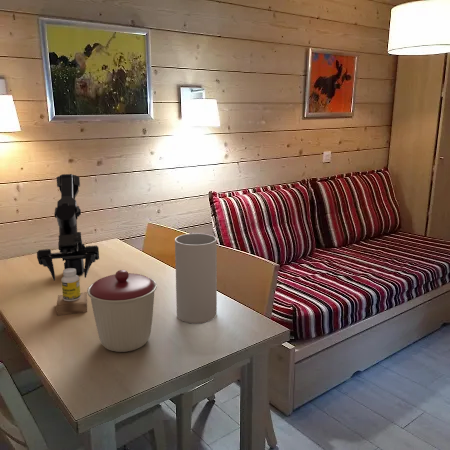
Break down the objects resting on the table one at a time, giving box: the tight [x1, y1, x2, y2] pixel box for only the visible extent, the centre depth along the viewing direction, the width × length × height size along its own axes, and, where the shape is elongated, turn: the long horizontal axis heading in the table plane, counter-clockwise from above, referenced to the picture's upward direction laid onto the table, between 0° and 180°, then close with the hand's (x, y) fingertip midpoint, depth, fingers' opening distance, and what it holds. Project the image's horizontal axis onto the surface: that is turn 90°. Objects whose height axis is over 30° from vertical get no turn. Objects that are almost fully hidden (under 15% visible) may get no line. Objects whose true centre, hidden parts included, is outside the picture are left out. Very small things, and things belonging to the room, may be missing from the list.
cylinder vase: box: [174, 232, 218, 324], centre depth 131 cm, size 12×12×25 cm
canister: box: [86, 269, 158, 353], centre depth 115 cm, size 18×18×21 cm
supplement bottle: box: [60, 268, 81, 301], centre depth 137 cm, size 5×5×10 cm
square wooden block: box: [55, 291, 88, 316], centre depth 138 cm, size 9×9×3 cm
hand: (69, 278), depth 135 cm, fingers open, 9 cm apart
